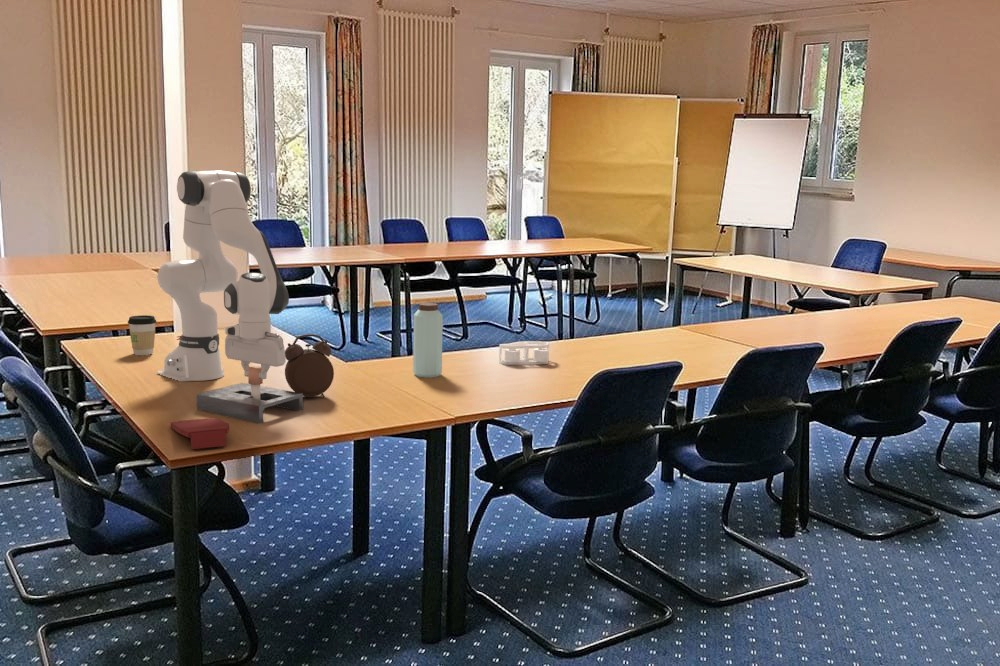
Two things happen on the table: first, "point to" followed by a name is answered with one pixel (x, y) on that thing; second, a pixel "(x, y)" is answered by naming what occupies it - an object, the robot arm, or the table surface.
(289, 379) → the alarm clock
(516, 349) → the white double holder
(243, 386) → the keyhole board
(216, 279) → the robot arm
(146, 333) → the coffee cup
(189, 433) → the carton
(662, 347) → the table surface
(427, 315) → the water bottle
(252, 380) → the peg
